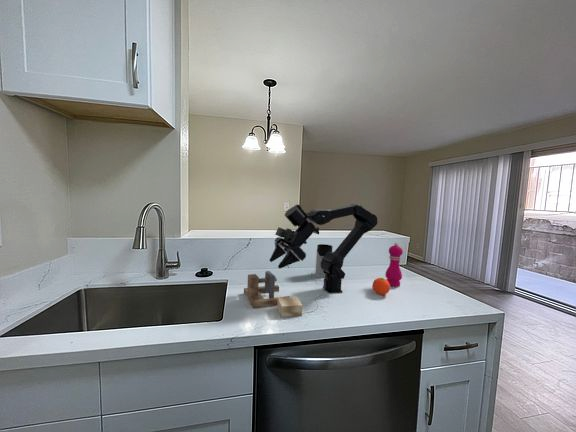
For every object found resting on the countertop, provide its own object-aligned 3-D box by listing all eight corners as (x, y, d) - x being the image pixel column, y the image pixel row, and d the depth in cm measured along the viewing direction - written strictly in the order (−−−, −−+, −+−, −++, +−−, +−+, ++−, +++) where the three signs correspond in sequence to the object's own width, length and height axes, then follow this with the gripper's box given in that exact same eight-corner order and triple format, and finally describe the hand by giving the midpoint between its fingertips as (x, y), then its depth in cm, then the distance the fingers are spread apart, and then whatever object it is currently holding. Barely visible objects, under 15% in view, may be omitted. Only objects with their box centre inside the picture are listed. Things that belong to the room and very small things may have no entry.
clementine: (372, 289, 112) (373, 273, 112) (389, 292, 110) (390, 275, 109) (371, 295, 105) (372, 278, 104) (389, 298, 102) (391, 281, 102)
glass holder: (315, 271, 134) (316, 243, 133) (342, 274, 131) (344, 245, 130) (313, 276, 126) (315, 246, 124) (343, 280, 123) (345, 249, 122)
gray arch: (268, 291, 101) (269, 270, 100) (273, 298, 95) (275, 276, 94) (264, 292, 100) (265, 271, 99) (269, 298, 94) (271, 276, 93)
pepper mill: (384, 285, 118) (387, 242, 116) (384, 281, 125) (388, 240, 123) (401, 288, 115) (405, 244, 114) (400, 283, 122) (404, 242, 120)
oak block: (296, 306, 91) (297, 296, 91) (302, 315, 84) (302, 305, 84) (277, 307, 89) (277, 297, 89) (281, 316, 83) (281, 306, 82)
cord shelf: (277, 289, 106) (278, 268, 105) (290, 303, 93) (292, 279, 93) (243, 293, 101) (244, 270, 100) (253, 308, 88) (254, 282, 87)
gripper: (279, 217, 106) (253, 245, 103) (299, 223, 89) (268, 256, 86) (296, 235, 110) (271, 263, 107) (318, 244, 93) (289, 277, 89)
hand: (274, 264), depth 97 cm, fingers open, 9 cm apart
